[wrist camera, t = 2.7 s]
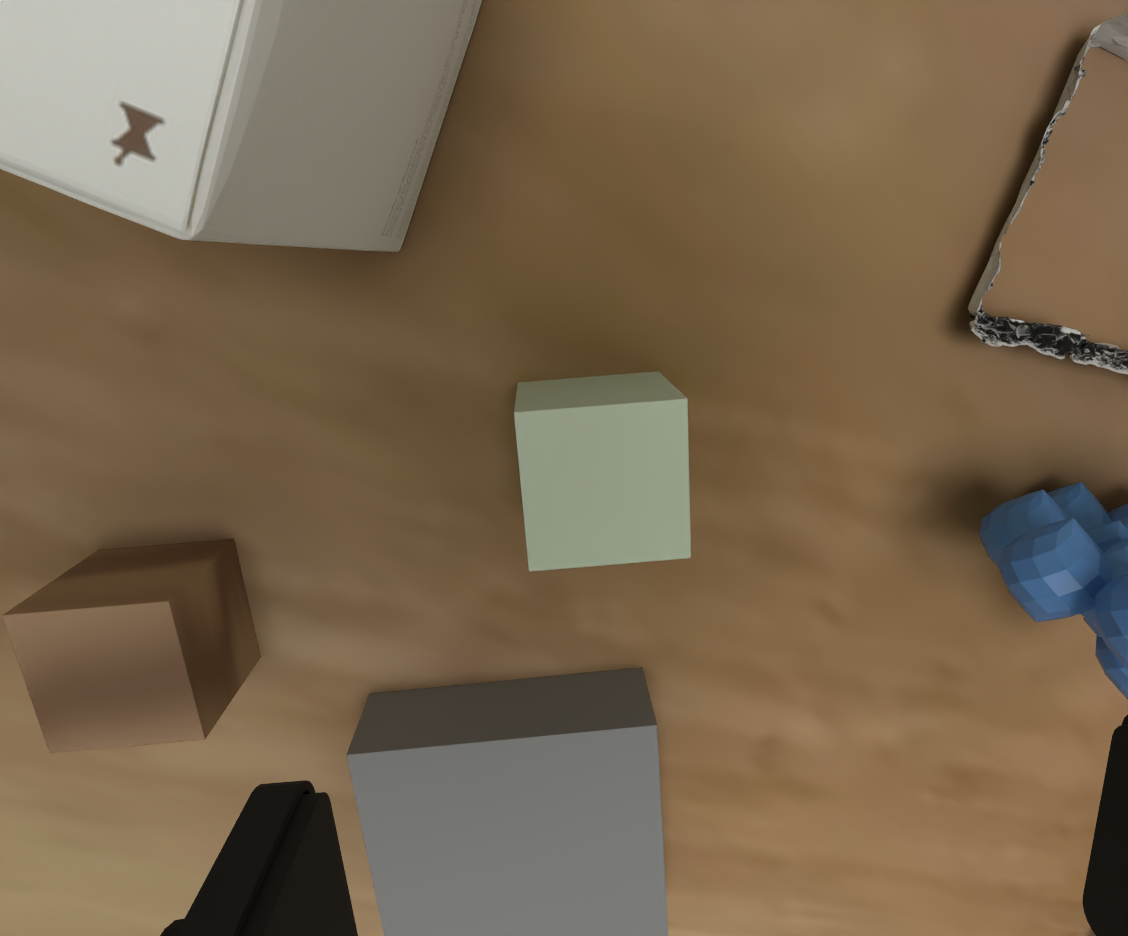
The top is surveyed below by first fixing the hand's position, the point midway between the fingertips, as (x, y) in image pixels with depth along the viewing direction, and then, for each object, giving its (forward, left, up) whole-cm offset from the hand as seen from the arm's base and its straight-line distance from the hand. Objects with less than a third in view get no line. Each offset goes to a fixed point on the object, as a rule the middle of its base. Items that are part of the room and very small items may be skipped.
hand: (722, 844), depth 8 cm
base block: (+15, -4, -19) cm, 24 cm away
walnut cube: (+5, -16, -18) cm, 25 cm away
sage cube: (0, 0, -18) cm, 18 cm away
